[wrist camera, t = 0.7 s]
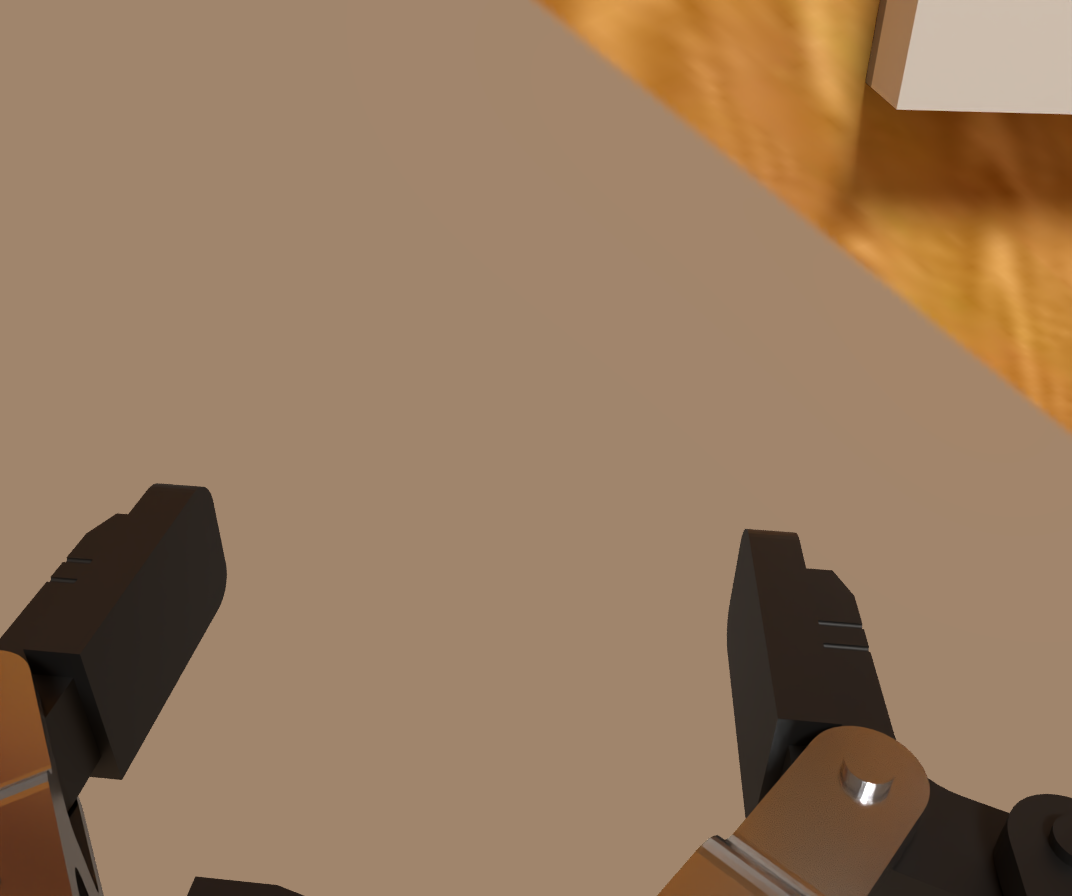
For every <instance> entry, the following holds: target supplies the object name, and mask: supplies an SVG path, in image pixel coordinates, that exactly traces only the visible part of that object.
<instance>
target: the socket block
mask: <svg viewBox="0 0 1072 896" xmlns="http://www.w3.org/2000/svg"><path fill="white" fill-rule="evenodd" d="M866 83H867V84H868V85H869V86H870V87H871V88H873V89H874V90H875V91H876V92H877V93H878V94H879V95H881V96H882V97H883V98H884V99H885V100H886V101H887V102H889V103H890V104H891V105H892V106H893V107H894V108H895V109H896V110H932V111H969V112H1005V113H1042V114H1072V0H880V4H879V10H878V15H877V21H876V26H875V32H874V37H873V43H872V48H871V54H870V60H869V65H868V71H867V76H866Z"/></svg>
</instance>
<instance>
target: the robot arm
mask: <svg viewBox="0 0 1072 896" xmlns="http://www.w3.org/2000/svg"><path fill="white" fill-rule="evenodd" d="M226 578H227V570H226V562H225V557H224V552H223V548H222V543H221V538H220V533H219V528H218V523H217V518H216V513H215V508H214V503H213V499H212V496H211V493H210V492H209V490H208V489H207V488H205V487H197V486H183V485H172V484H153V485H152V486H151V487H150V488H149V489H148V490H147V491H146V493H145V494H144V495H143V496H142V498H141V499H140V500H139V501H138V503H137V504H136V505H135V507H134V508H133V509H132V510H131V512H130V513H129V514H115V515H114V516H112V517H111V518H109V519H108V520H106V521H105V522H103V523H102V524H100V525H99V526H97V527H96V528H94V529H93V530H91V531H90V532H88V533H86V535H85V536H84V537H83V538H82V540H81V541H80V542H79V543H78V544H77V546H76V547H75V548H74V549H73V550H72V552H71V553H70V554H69V555H68V557H67V562H63V563H62V564H61V565H60V566H59V568H58V569H57V570H56V571H55V573H54V574H53V575H52V576H51V581H50V582H46V583H45V585H44V586H43V587H42V588H41V589H40V591H39V592H38V593H37V594H36V595H35V597H34V598H33V599H32V601H31V602H30V603H29V604H28V605H27V606H26V608H25V609H24V610H23V611H22V613H21V614H20V615H19V616H18V617H17V619H16V620H15V621H14V622H13V624H12V625H11V626H10V627H9V629H8V630H7V631H6V632H5V633H4V634H3V636H2V637H1V638H0V896H104V895H103V891H102V887H101V882H100V878H99V874H98V870H97V866H96V862H95V857H94V853H93V849H92V845H91V841H90V837H89V833H88V829H87V824H86V821H85V817H84V812H83V808H82V805H81V802H80V800H79V797H78V795H79V793H80V792H81V790H82V788H83V787H84V785H85V783H86V782H87V780H88V778H89V777H98V778H109V779H119V780H122V779H123V777H124V775H125V774H126V772H127V770H128V768H129V766H130V764H131V763H132V761H133V759H134V758H135V756H136V754H137V752H138V751H139V749H140V747H141V745H142V743H143V742H144V740H145V738H146V736H147V735H148V733H149V731H150V729H151V727H152V726H153V724H154V722H155V720H156V719H157V717H158V715H159V713H160V712H161V710H162V708H163V706H164V704H165V703H166V700H167V699H168V697H169V696H170V694H171V692H172V690H173V688H174V687H175V685H176V683H177V681H178V680H179V678H180V675H181V674H182V672H183V671H184V669H185V667H186V665H187V663H188V661H189V660H190V658H191V657H192V655H193V653H194V651H195V649H196V648H197V646H198V644H199V642H200V641H201V639H202V637H203V635H204V633H205V632H206V630H207V628H208V626H209V624H210V623H211V621H212V619H213V617H214V616H215V614H216V612H217V610H218V609H219V607H220V605H221V602H222V599H223V596H224V592H225V587H226ZM868 648H869V646H868V642H867V639H866V635H865V632H864V629H862V622H861V618H860V614H859V611H858V608H857V604H856V601H855V597H854V595H853V594H852V593H851V592H850V590H849V589H848V588H847V587H846V586H845V585H844V583H843V582H842V581H841V580H840V579H839V578H838V576H837V575H836V574H835V573H834V572H833V571H832V570H819V569H806V566H805V562H804V558H803V553H802V549H801V545H800V540H799V537H798V535H797V533H793V532H779V531H766V530H765V531H764V530H752V529H745V530H744V532H743V535H742V539H741V544H740V549H739V555H738V561H737V566H736V572H735V578H734V583H733V589H732V594H731V600H730V605H729V612H728V623H727V651H728V660H729V669H730V678H731V688H732V697H733V706H734V716H735V725H736V734H737V743H738V753H739V762H740V771H741V780H742V790H743V798H744V807H745V817H746V819H745V820H744V822H743V823H742V824H741V825H740V826H739V828H738V829H737V830H736V831H735V832H734V833H733V834H732V835H731V836H730V837H729V838H728V839H726V840H724V839H723V838H721V837H720V836H718V835H716V836H713V837H711V838H709V839H708V840H707V841H705V842H704V843H703V844H702V845H701V846H700V847H699V848H698V849H697V850H696V852H695V853H694V854H693V855H692V856H691V857H690V859H689V860H688V861H687V862H686V863H685V864H684V865H683V867H682V868H681V869H680V870H679V871H678V872H677V873H676V874H675V876H674V877H673V878H672V879H671V880H670V881H669V883H668V884H667V885H666V886H665V887H664V888H663V889H662V891H661V892H660V893H659V894H658V895H657V896H1072V798H1069V797H1065V796H1060V795H1053V794H1040V795H1034V796H1030V797H1027V798H1025V799H1023V800H1021V801H1019V802H1018V803H1017V804H1016V805H1015V806H1014V807H1013V809H1012V810H1011V812H1010V813H1007V812H1005V811H1002V810H999V809H996V808H993V807H991V806H988V805H985V804H982V803H979V802H977V801H974V800H971V799H968V798H965V797H963V796H960V795H958V794H955V793H953V792H951V791H948V790H947V789H945V788H943V787H941V786H939V785H937V784H936V783H934V782H933V781H931V780H930V779H928V777H927V775H926V773H925V771H924V768H923V767H922V765H921V764H920V762H919V761H918V759H917V758H916V757H915V756H914V755H913V754H912V753H911V752H910V751H909V750H908V749H907V748H906V747H905V746H903V745H902V744H900V743H899V742H898V741H896V738H895V736H894V732H893V729H892V725H891V722H890V718H889V715H888V711H887V708H886V705H885V701H884V698H883V694H882V691H881V687H880V684H879V680H878V677H877V674H876V670H875V667H874V663H873V659H872V656H871V653H870V652H869V651H868ZM187 896H303V895H301V894H298V893H296V892H293V891H291V890H288V889H286V888H283V887H281V886H278V885H271V884H261V883H251V882H242V881H233V880H223V879H214V878H204V877H195V879H194V881H193V884H192V886H191V888H190V890H189V893H188V895H187Z"/></svg>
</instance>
